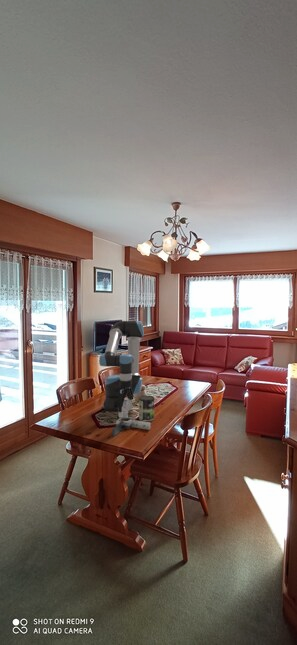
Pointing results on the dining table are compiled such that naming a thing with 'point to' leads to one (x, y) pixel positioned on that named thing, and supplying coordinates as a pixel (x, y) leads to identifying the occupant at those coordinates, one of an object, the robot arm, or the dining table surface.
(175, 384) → the dining table surface
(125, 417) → the pin
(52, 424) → the dining table surface
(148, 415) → the coffee can
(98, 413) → the dining table surface
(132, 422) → the grey flat branched piece
